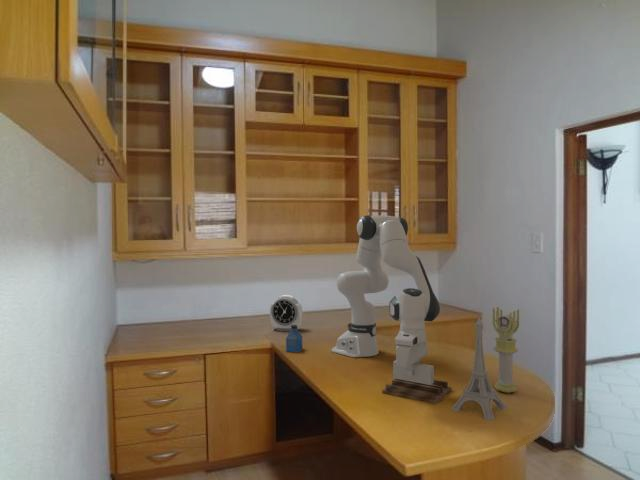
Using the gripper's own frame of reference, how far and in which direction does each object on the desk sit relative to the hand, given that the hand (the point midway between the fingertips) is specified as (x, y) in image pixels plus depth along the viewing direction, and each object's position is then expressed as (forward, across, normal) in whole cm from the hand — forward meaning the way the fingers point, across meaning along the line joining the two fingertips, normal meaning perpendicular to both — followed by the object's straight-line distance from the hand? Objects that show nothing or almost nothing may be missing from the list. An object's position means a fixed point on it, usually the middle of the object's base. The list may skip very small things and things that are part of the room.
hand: (412, 373), depth 163 cm
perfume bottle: (+8, -25, -71) cm, 76 cm away
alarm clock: (+7, -57, -100) cm, 116 cm away
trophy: (+8, -21, +27) cm, 35 cm away
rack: (+8, -4, 0) cm, 9 cm away
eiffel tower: (+8, 0, +23) cm, 24 cm away
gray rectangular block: (+2, 0, 0) cm, 2 cm away
